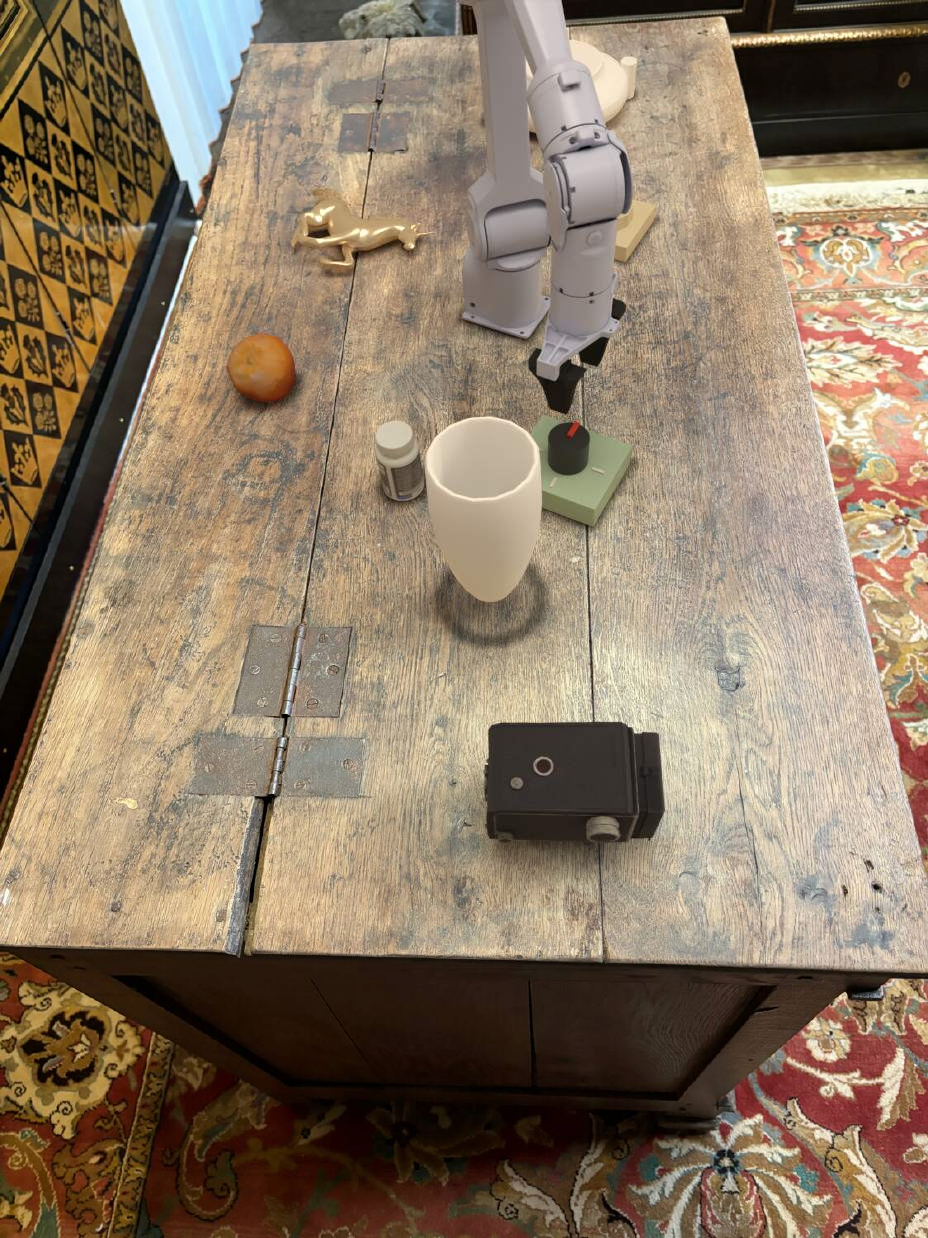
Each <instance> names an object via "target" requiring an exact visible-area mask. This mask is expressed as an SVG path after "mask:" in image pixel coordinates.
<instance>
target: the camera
mask: <svg viewBox="0 0 928 1238" xmlns="http://www.w3.org/2000/svg"><path fill="white" fill-rule="evenodd" d="M487 734H488V735H487V737H488V739H487V740H488V741H487V743H488V755H487V756H488V757H487V759H485V762H486V764H484V769H483V770H482V774H483V793H484V798H483V799H484V802H486V813H485V814H486V815H485V818H486V819H485V820H486V821H485V822H486V823H485V824H483V828H484V829H486V834H487V837H488V839H489V840H497V842H499V843H500V844H512V843H513V842H514V841H531V842H558V843H561V842H562V843H589V844H592V843H593V844H596V843H597V844H600V843H601V844H612V843H629V842H630V841H631V840H634V839H635V840H638V839H639V840H641V839H642V840H643V839H647V841H648V842H650V841H651V839H653V837H654V836H655V834H656V832H657V830H658V828H659V825H660V823H661V821H662V818H663V817H664V814H665V812H666V805H665V804H666V803H665V796H664V795H665V792H664V781H663V771H662V770H663V769H662V757H661V755H662V754H661V744H660V734H659V733H658V732H657V731H656V732H653V731H642V732H640V733H639V732H638V733H636V732H635V730H634V727H632V726H628V724H627V723H625V722H623V721H559V722H557V721H555V722H552V721H551V722H529V721H528V722H527V721H526V722H524V721H519V722H518V721H516V722H507V721H506V722H505V721H504V722H497V723H493V724H491V725H490V726H489V727H488V729H487Z"/></svg>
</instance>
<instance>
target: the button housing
mask: <svg viewBox="0 0 928 1238" xmlns="http://www.w3.org/2000/svg"><path fill="white" fill-rule="evenodd" d="M656 211H657V205H656V204H653V203H649V202H645V201H641V200H637V199H633V198H632V204H631V207H630V210H629V212H628V213H627V214H622V213H621V214H620V216H618V225H617V235H616V246H615V256H614V260H616V261H620V262H623V263H626V262H627V261H628V259H629V258H630V256H631V255H632V254H633V251H635V249H636V248H637V246H638V245H639V243H640V242H641V240H642V238H643V237H644V236H645V235H646V233H647V232H648V230H649V229H650V227H651V225H652V224H653V223H654V221H655V219H656V218H655V217H656Z"/></svg>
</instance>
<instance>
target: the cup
mask: <svg viewBox="0 0 928 1238" xmlns="http://www.w3.org/2000/svg"><path fill="white" fill-rule="evenodd" d="M424 473H425V486H426V496H427V507H428V512H429V517H430V521H431V526H432V529H433V530H432V531H433V535H434V538H435V542H436V543H437V545H438V547H439V549H440V551H441V553H442V556H443V558H444V560H445V561H446V564H447V565H448V567H449V569H450V571H451V573H452V574H453V576H454V577H455V579H456V580H457V582H458V583H459V584H460V586H462V588H463V589H464V590H465V591H467V592H468V593H469V594H470V595H472V596H473V598H475V599H477V600H478V601H481V602H485V603H497V602H499V601H501V600H504V599H505V598H507V596H508V595H509V594H510V593H511V592H512V591H514V589H516V587H517V586H518V584H520V581H521V580H522V578H523V577H524V575H525V573H526V571H527V568H528V566H529V563H530V561H531V558H532V556H533V552H534V550H535V548H536V543H537V542H538V541H537V540H538V538H539V535H540V530H541V529H540V528H541V517H542V509H543V508H542V489H541V464H540V454H539V447H538V445H537V444H536V443H535V441H534V440H533V438H532V437H531V435H530V432H529V431H528V430H526V429H524V428H523V427H521V426H520V425H518V424H516V423H515V422H513V421H511V420H509V419H504V418H499V417H494V416H491V415H490V416H489V415H488V416H477V417H467V418H464V419H462V420H460V421H456V422H454V423H451V424H449V425H448V426H447V427H446V428H444V429H443V430H442V431H440V433H438V434H437V435H436V436H435V437H433V438H432V441H431V442H430V445H429V446H428V448H427V450H426V452H425V454H424Z"/></svg>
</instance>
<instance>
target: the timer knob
mask: <svg viewBox="0 0 928 1238" xmlns="http://www.w3.org/2000/svg"><path fill="white" fill-rule="evenodd" d="M565 422H566V421H565ZM587 430H588V429H587V428H586V427H585V426H583V425H582V424H581V422H580V421H576V420H575V421H574V422H571V421H567V422H566V423H561V424H558V425H556V426H555V427H553V428H552V429H551V431H550V432H549V435H548V464H549V466H550V467H551V469H552V470H554V471H555V472H557V473H559V474H563V475H573V474H577V473H579V472H581V471H582V470H584V468H585V467H586V466H587V464H588V456H589V444H590V435H589V432H588V431H587Z"/></svg>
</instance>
